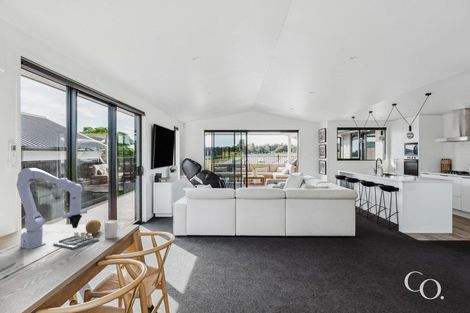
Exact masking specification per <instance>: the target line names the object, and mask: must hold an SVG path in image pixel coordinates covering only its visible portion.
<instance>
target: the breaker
mask: <svg viewBox="0 0 470 313" xmlns="http://www.w3.org/2000/svg"><path fill="white" fill-rule="evenodd" d="M86 237H87V235H86V231H85V232H84V231H83V232H80V236H79V239H83V238H86Z"/></svg>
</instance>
